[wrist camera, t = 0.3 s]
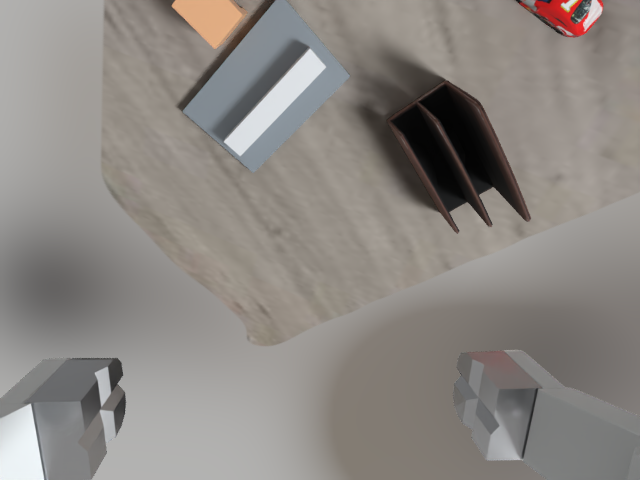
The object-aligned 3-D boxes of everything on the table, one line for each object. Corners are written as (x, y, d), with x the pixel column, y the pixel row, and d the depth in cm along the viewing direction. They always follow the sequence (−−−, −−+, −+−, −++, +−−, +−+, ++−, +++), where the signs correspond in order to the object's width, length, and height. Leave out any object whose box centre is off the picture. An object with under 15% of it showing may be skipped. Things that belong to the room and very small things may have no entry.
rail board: (281, -6, 47) (280, -6, 44) (349, 74, 53) (352, 79, 50) (184, 109, 54) (178, 115, 51) (253, 170, 59) (251, 179, 57)
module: (209, -30, 45) (199, -33, 40) (247, 13, 48) (242, 15, 43) (184, 4, 47) (171, 5, 42) (222, 43, 50) (214, 49, 45)
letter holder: (445, 78, 54) (488, 101, 42) (494, 182, 63) (540, 225, 52) (384, 119, 57) (409, 152, 45) (440, 213, 66) (472, 260, 54)
